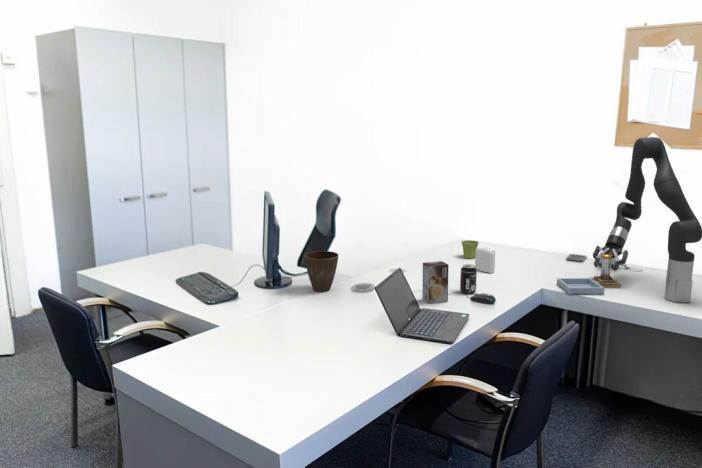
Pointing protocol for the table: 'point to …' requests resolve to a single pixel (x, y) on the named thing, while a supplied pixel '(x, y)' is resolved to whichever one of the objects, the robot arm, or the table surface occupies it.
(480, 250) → the photo printer
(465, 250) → the plant pot
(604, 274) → the lock pin
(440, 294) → the coffee box
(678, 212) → the robot arm
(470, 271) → the beverage can
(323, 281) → the plant pot
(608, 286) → the brown stepped base
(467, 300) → the table surface
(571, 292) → the tray
